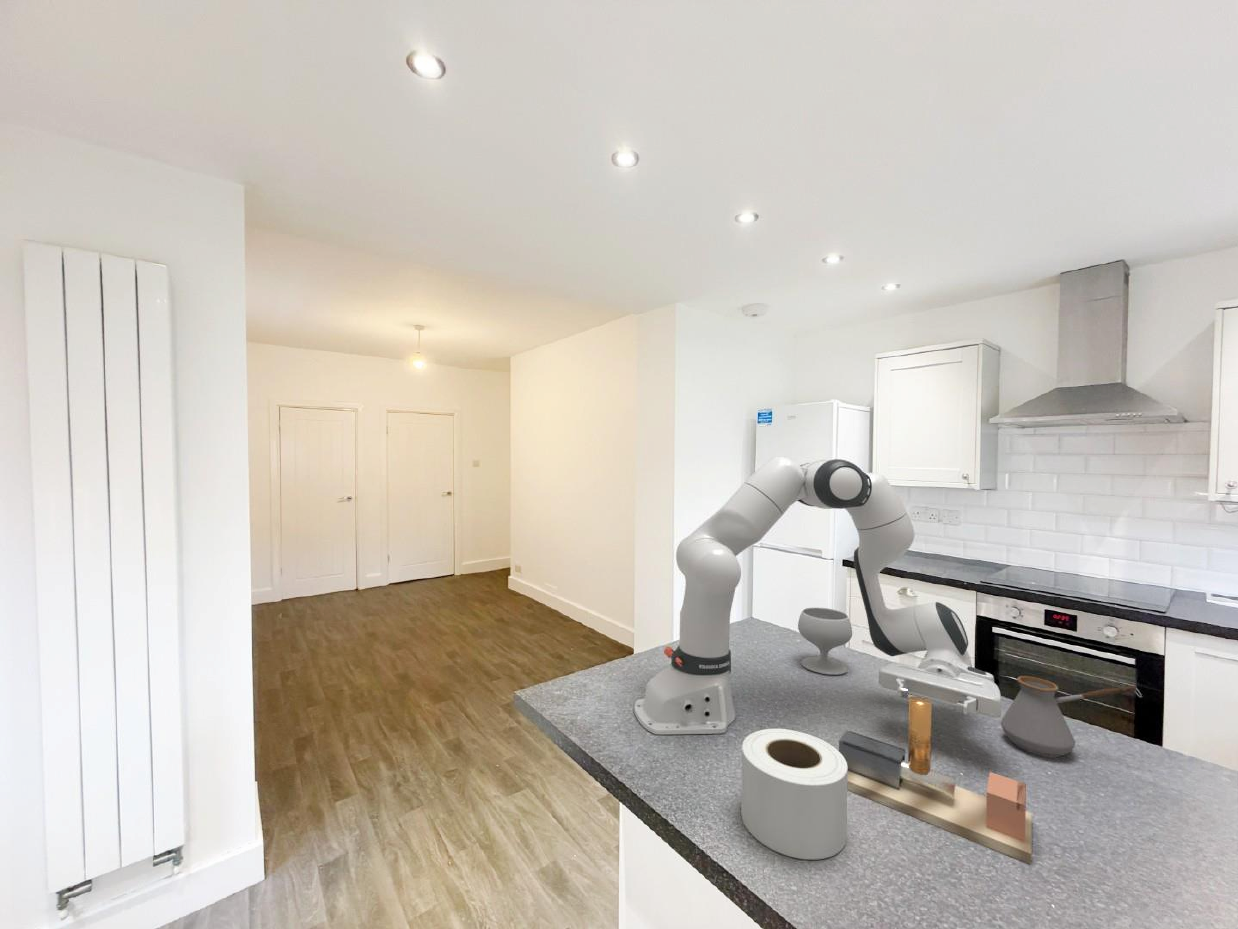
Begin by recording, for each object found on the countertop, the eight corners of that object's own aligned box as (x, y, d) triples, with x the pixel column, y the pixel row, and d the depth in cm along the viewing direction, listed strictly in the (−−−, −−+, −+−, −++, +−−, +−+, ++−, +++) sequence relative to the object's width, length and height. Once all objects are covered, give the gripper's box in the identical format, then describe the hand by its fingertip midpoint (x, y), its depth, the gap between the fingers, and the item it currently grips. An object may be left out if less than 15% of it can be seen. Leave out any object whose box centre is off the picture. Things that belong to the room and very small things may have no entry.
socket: (986, 827, 74) (986, 792, 74) (989, 805, 79) (989, 772, 80) (1024, 842, 72) (1025, 805, 72) (1025, 818, 77) (1026, 783, 77)
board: (830, 782, 87) (830, 774, 87) (848, 755, 95) (848, 747, 95) (1031, 864, 69) (1031, 854, 69) (1031, 822, 78) (1031, 813, 78)
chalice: (788, 658, 144) (789, 606, 144) (834, 657, 146) (834, 606, 146) (812, 678, 130) (813, 621, 130) (862, 677, 132) (863, 620, 132)
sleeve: (838, 767, 89) (839, 740, 89) (846, 755, 93) (846, 730, 93) (898, 790, 83) (899, 761, 83) (904, 777, 86) (905, 749, 86)
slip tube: (849, 763, 88) (850, 685, 89) (854, 756, 91) (855, 679, 91) (953, 802, 78) (954, 714, 79) (955, 793, 81) (957, 707, 81)
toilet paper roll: (755, 779, 88) (756, 718, 88) (851, 811, 80) (852, 744, 80) (728, 834, 74) (729, 762, 74) (839, 879, 66) (841, 798, 66)
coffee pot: (1010, 754, 97) (1011, 677, 97) (993, 726, 107) (994, 657, 107) (1158, 784, 88) (1159, 699, 88) (1123, 750, 99) (1124, 675, 99)
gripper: (886, 650, 110) (870, 669, 99) (1003, 676, 96) (999, 701, 86) (885, 678, 109) (870, 700, 99) (1002, 709, 96) (999, 738, 86)
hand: (931, 701), depth 92 cm, fingers open, 8 cm apart
